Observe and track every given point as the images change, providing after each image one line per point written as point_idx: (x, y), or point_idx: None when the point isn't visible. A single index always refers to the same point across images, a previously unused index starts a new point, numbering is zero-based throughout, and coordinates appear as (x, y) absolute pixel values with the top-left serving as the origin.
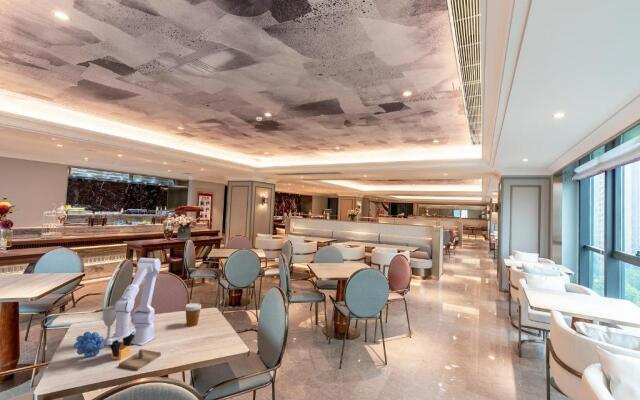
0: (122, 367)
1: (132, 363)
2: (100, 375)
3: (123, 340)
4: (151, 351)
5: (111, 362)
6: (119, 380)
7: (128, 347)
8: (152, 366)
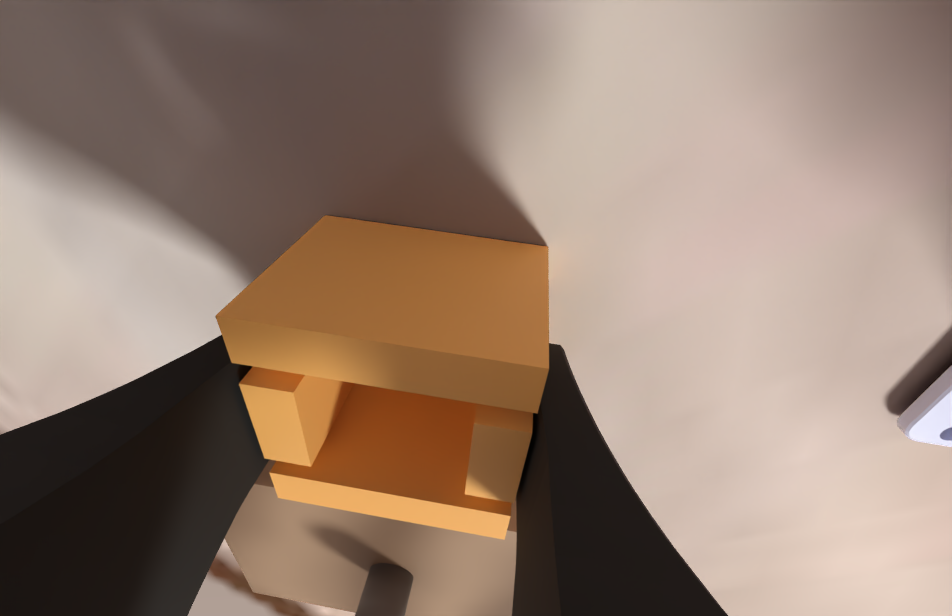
0: None
1: (270, 554)
2: (11, 371)
3: (547, 557)
4: None
5: None
6: None
7: (457, 527)
8: None
